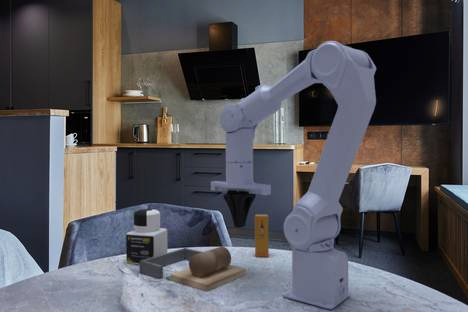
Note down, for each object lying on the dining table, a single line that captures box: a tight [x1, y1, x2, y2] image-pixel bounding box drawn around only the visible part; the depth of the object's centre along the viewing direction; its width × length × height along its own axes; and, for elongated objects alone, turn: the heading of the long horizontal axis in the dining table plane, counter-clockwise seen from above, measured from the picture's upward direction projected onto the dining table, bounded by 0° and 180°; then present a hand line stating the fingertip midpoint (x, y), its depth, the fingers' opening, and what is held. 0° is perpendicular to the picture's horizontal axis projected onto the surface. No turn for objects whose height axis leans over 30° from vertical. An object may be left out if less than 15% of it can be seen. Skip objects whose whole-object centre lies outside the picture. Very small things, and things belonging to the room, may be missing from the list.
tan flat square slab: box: [165, 264, 247, 292], centre depth 82 cm, size 11×12×1 cm
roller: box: [188, 246, 232, 277], centre depth 81 cm, size 4×8×4 cm
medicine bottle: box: [125, 208, 168, 265], centre depth 93 cm, size 7×7×12 cm
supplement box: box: [254, 213, 270, 258], centre depth 97 cm, size 3×3×10 cm
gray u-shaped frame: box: [138, 247, 203, 280], centre depth 88 cm, size 7×14×2 cm, turn 141°
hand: (239, 226), depth 84 cm, fingers closed
